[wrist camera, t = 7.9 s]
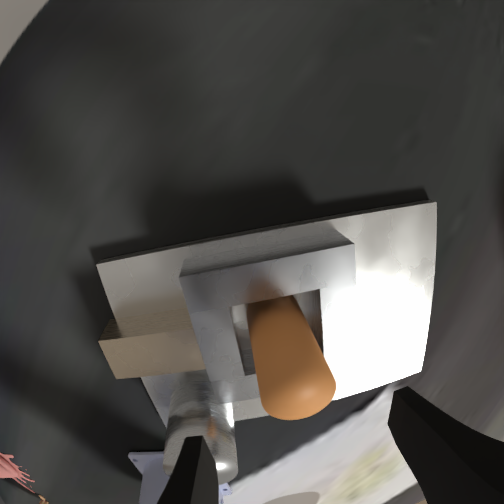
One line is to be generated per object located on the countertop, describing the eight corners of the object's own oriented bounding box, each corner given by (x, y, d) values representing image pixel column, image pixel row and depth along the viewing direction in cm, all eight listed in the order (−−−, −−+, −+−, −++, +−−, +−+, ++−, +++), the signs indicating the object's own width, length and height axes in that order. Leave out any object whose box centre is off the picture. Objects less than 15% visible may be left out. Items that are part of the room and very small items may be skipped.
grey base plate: (416, 365, 23) (457, 417, 16) (167, 421, 22) (160, 490, 15) (429, 199, 18) (502, 225, 12) (100, 259, 17) (50, 315, 11)
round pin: (303, 327, 19) (339, 406, 12) (254, 342, 19) (270, 427, 12) (293, 283, 18) (332, 356, 11) (239, 298, 18) (252, 379, 11)
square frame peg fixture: (342, 352, 20) (355, 374, 18) (140, 387, 20) (133, 412, 17) (337, 230, 17) (354, 243, 15) (94, 276, 17) (78, 295, 14)
